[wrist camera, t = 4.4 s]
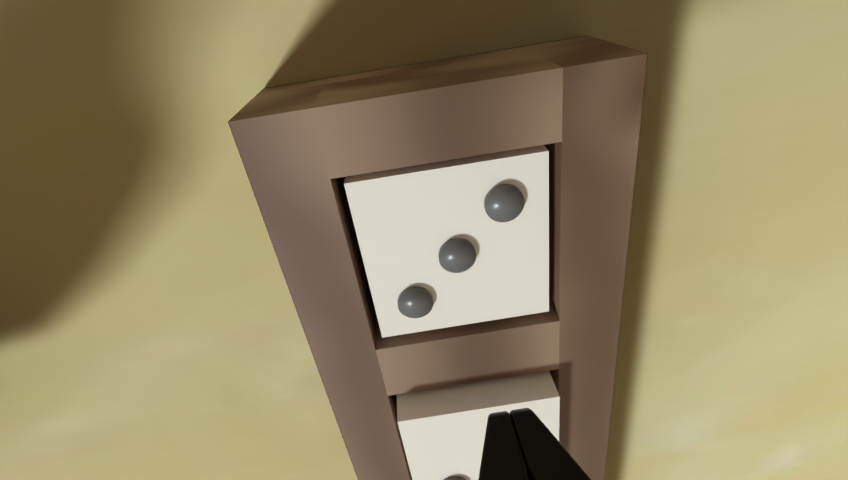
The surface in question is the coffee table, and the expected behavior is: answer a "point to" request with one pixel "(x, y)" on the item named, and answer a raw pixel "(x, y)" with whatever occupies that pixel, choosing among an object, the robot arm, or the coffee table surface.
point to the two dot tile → (466, 421)
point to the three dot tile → (455, 239)
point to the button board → (439, 141)
